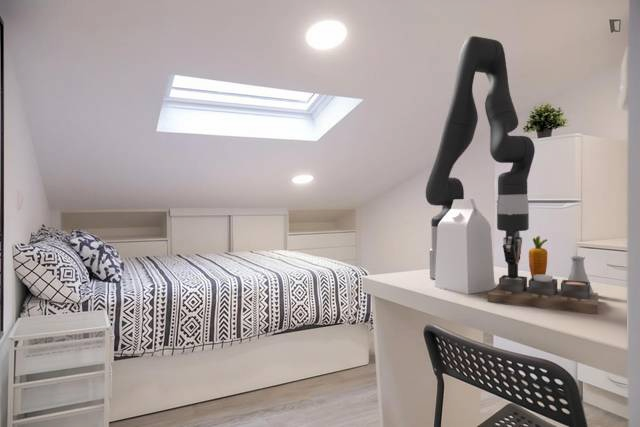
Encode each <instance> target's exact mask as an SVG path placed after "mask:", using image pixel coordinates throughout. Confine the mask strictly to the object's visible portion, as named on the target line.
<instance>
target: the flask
mask: <svg viewBox="0 0 640 427" xmlns="http://www.w3.org/2000/svg"><path fill="white" fill-rule="evenodd" d="M585 258H586V257H585V256H583V255H582V256H581V255H572V256H570V259H571V261H572V262H571V263H572V264H571V270H570V273H569V275H568V277H567V280H574V281H587V282H590V281H589V278H588V276H587V273H586V269H585V262H584V261H585ZM590 292H593V293H595V292H594V289H593V287H592V285H591V284H590Z"/></svg>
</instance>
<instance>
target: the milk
mask: <svg viewBox="0 0 640 427" xmlns="http://www.w3.org/2000/svg"><path fill="white" fill-rule="evenodd" d="M492 240H493V239H492V228H491V225H490V222H489V221H488V220H487V218H486V217H485V216H484V215H483V214H482V213H481V211H479V209H478V208H477V205H476V203H475V200H474V198H467V199H466V198H464V199H454V201H453V204H452V207H451V209H450V210H449V211H448V213H447V214H446V215H445V216H444V217H443V218H442V220H441V221H440V222H439V224H438V228H437V249H436V272H435V279H434V287H435V288H438V289H443V290H448V291H452V292H456V293H461V294H465V295H470V294H474V293H481V292H487V291H491V290H492V289H494V288H495V287H496V286H495V274H494V273H495V272H494V256H493V243H492V242H493V241H492Z"/></svg>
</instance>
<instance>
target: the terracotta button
mask: <svg viewBox="0 0 640 427" xmlns="http://www.w3.org/2000/svg"><path fill="white" fill-rule="evenodd" d="M566 284H576V285H586V284H584V283H580V282H566Z"/></svg>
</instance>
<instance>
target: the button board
mask: <svg viewBox="0 0 640 427" xmlns="http://www.w3.org/2000/svg"><path fill="white" fill-rule="evenodd" d="M506 277H508V274H507V275H506V274H503V275H502V276H501V277H499V278H498V284H497V285H496V286H495V288H494V289H492V290H489V292H488V293H486V295H487V296H486V301H487V302H490V303H498V304H505V305H516V306H525V307H534V308H543V309H550V310H560V311H568V312H577V313H586V314H594V315H598V311H599V308H598V307H599V293H598V292H594V291H593V292H594V293H593V292H590V285H591V282H590V281H589V282H587V281H574V280H568V279H562V280H561V283H560V288H559V289H558V279H557V278H553V283H552V282H540V281H534V277H532V276H531V278H530V279H529V280H528V277H527V276H521V275H520V276H519V275H518V277H517V278H521V279H522V280H515V279H504V278H506ZM566 282H580V283H584V284H586V285H576V284H566Z"/></svg>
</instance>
